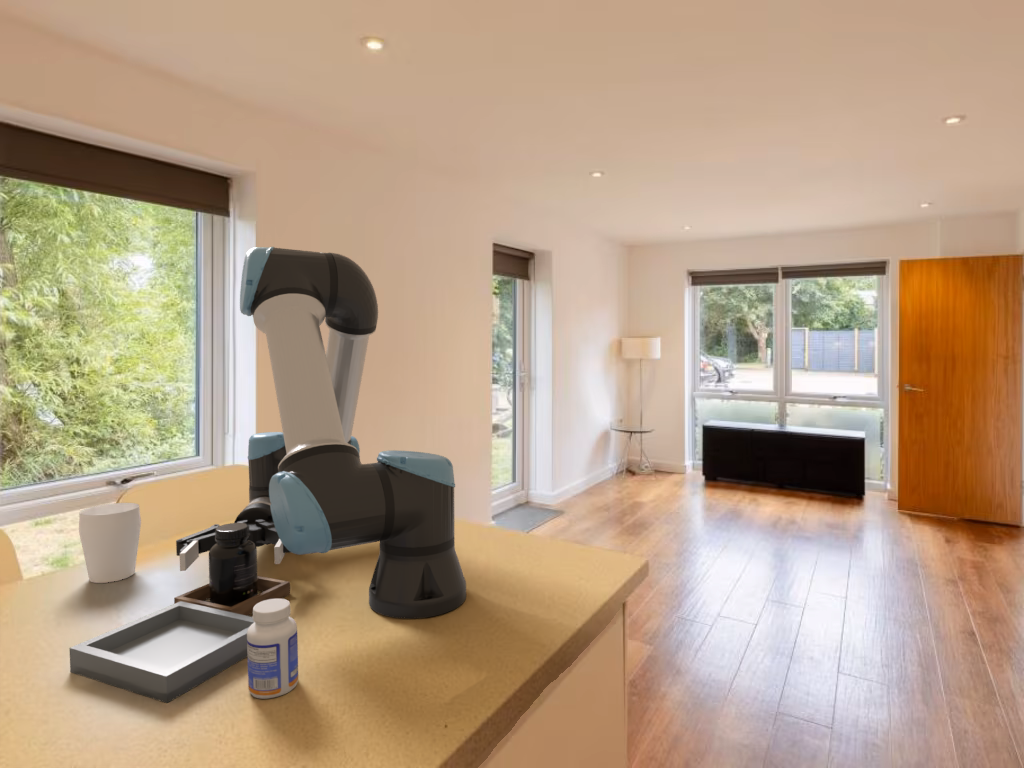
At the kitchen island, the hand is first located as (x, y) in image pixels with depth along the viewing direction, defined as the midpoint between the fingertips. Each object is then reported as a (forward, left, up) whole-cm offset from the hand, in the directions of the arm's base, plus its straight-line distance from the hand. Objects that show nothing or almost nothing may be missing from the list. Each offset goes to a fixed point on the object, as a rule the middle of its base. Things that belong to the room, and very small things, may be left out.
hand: (230, 558), depth 92 cm
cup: (+29, -1, -7) cm, 30 cm away
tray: (-7, +15, -7) cm, 18 cm away
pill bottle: (-24, +15, -7) cm, 29 cm away
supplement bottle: (0, -1, -7) cm, 7 cm away
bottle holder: (0, -1, -7) cm, 7 cm away
